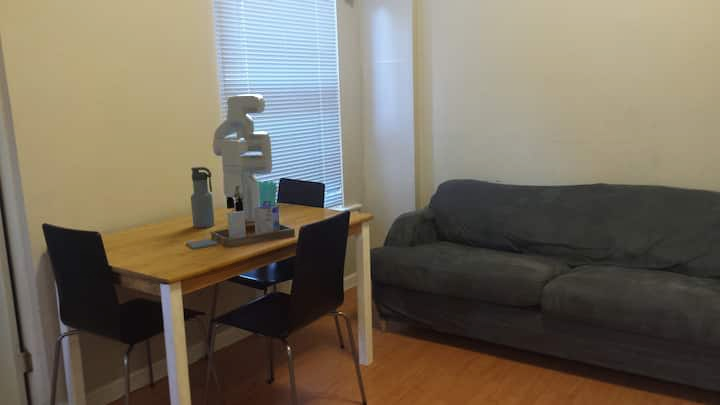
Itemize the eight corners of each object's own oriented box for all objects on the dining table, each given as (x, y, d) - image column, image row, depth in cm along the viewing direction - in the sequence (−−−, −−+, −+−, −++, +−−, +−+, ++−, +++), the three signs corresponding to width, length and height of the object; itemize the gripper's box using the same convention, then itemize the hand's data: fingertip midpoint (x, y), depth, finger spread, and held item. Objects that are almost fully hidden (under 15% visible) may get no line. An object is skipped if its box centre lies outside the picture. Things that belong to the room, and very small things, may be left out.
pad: (186, 244, 247) (185, 242, 247) (209, 240, 253) (209, 238, 252) (193, 249, 239) (193, 247, 239) (217, 245, 244) (217, 243, 244)
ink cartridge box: (281, 233, 260) (278, 201, 257) (274, 236, 255) (271, 203, 252) (262, 232, 264) (259, 200, 261) (255, 235, 259) (252, 202, 256)
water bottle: (214, 222, 288) (209, 165, 283) (216, 226, 279) (211, 167, 273) (193, 224, 285) (187, 167, 280) (193, 229, 276) (188, 169, 270)
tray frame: (211, 238, 256) (211, 231, 256) (275, 227, 272) (274, 221, 272) (228, 247, 240) (227, 240, 239) (294, 235, 256) (294, 228, 255)
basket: (237, 210, 317) (235, 186, 315) (249, 203, 335) (247, 181, 332) (271, 209, 314) (270, 185, 312) (282, 203, 332) (280, 180, 329)
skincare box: (240, 237, 256) (238, 210, 254) (246, 238, 253) (244, 211, 251) (228, 240, 251) (226, 212, 249) (235, 242, 248) (233, 213, 246)
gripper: (216, 168, 252) (219, 208, 254) (231, 171, 237) (234, 213, 240) (232, 167, 256) (235, 206, 258) (248, 169, 241) (251, 211, 244)
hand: (235, 209), depth 249 cm, fingers open, 9 cm apart
